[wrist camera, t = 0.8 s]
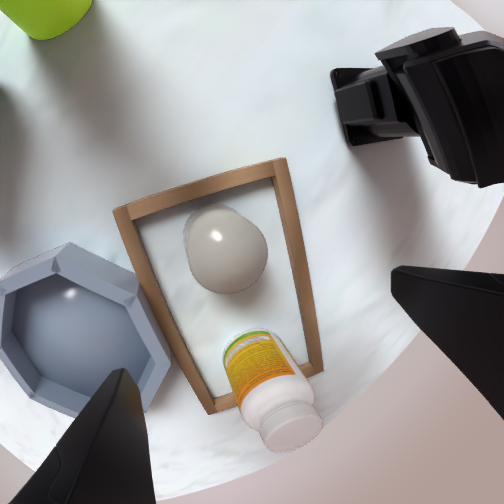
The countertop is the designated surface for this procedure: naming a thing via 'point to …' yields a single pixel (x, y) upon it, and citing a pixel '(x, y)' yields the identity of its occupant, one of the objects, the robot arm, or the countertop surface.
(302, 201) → the countertop surface
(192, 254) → the white rounded cylinder
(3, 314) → the bowl
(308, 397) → the supplement bottle
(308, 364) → the wooden frame
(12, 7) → the soap dispenser
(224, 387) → the countertop surface
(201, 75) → the countertop surface
